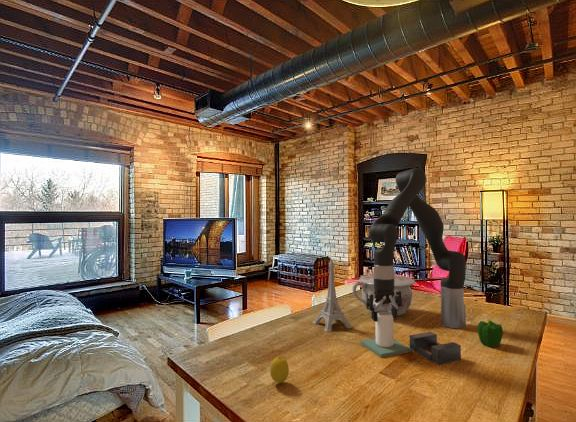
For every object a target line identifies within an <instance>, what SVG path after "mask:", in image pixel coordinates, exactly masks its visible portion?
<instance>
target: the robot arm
mask: <svg viewBox="0 0 576 422" xmlns="http://www.w3.org/2000/svg"><path fill="white" fill-rule="evenodd" d="M426 183H427V175H426V173H425V171H424V170H423V169H422V168H419V167H415V168H414V167H413V168H411V169H406V170H404V171H401V172H398V173H396V176H395V184H396V187H397V189H398V191H399V193H398V194H397V195H396V196H395V197H394V198H392V200H391V201H390V202H389V203H388V204H387V206H386V208H385V210H384V211H383V213H382V214H381V215H380V216H379V217H378V218H377V219H376V220H375V221H374V222H373V223H372V224H371V225H370V227H369V230H368V237H369V239H370V240H371V241H372V242H375V243H383V247H380V248H376V249H375V250H374V252H373V274H374V290H375V292H374V294H370V293H367V305H366V306H365V309H367V310H369V312H370V313H371V314H370V315H371V320H372V321H373V322H377V321H378V314H377V310H378V308H379V307H380V306H381V305H383V304H390V305H391V306H392V308H391V312H392V316H393V320H394V319H395V320H397V319H398V316H397V309H398V307H401V306H402V298H401V291H398V290H395V291H394V289H395V286H394V275H395V268H394V267H395V265H394V252H395V250H396V249H395V248H396V245H397V241H398V236H399V231H398V229H397V227H396V226H398V225H399V224H400V223H401V221H402V219H403V217H404V214H405V213H406V211H407V209H408V207H409V208H410V210H411V212H412V213H413V215H414V217H415V219H416V222H417V224H418V226H419V227H420V230H421V231H422V234H424V237H425V239H426V241H427V243H428V246H429V248H430V251H431V253H432V256H433V258H434V262H435V263H436V265H437V267H438V268H439V269H440V270H443V271H446V272H448V277H446V278H442V279H441V280H440V323H441V325H442V326H443V327H447V328H450V329H463V328H464V327H466V326H467V317H466V316H467V313H466V304H465V301H464V300H465V299H464V298H465V297H464V296H465V295H464V293H465V292H464V290H465V289H464V285H465V281H466V273H467V272H466V270H467V269H466V268H467V262H466V257H465V255H464V254H463V253H462V252H460V251H454V250H449V249H448V248H447V246H446V245H445V243H444V240H443V235H444V222H443V221H442V220H443V219H442V218H441V216H440V215H439V213H438V211H437V209H435V208H434V207H433V206H432V205H430V204H429V203H427V202H426V201H425V200H423V199H422V198H421V197H420V196H419V194H420V193H421V191H422V190H423V189H424V187H425V186H426ZM394 296H395V301H394V299H393V297H394ZM374 297H375V300H374V301H373V299H374ZM377 302H378V303H377Z"/></svg>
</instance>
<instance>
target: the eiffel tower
mask: <svg viewBox="0 0 576 422" xmlns="http://www.w3.org/2000/svg"><path fill="white" fill-rule="evenodd" d="M328 268H329V272H328V274H329V276H328V289H327V295H326V297H325V299H326V301H325V303H324V305H323V308H322V309H320V310H319V311H320V313H319V314H318V315H317V316H316V317H315V319H313V321H312V324H314V325H319V324H320V325H321V323H320V322H321V320H323V318H324V320H325V326H324V329H323V330H324V331H325V332H326V333H330V332H333V330H332V326H333V323H334V322H336V321H340V320H341V321H342V323H343V324H344V328H347V329H352V328H353V326H352V324H351V323H350V322H349V320H348V319H347V318H346V316H345V312H344V311H342V309H341V307H340V305H339V302H338V300H339V298H337V292H336V285H335V274H334V273H335V272H334V270H335V269H334V268H335V262H334V261H333V258H332V259H331V258H330V260H329V262H328Z"/></svg>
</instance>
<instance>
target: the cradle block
mask: <svg viewBox="0 0 576 422" xmlns="http://www.w3.org/2000/svg"><path fill="white" fill-rule="evenodd" d="M437 337H438V335H437V333H434V332H433V331H428V332H421V333H414V334H410V335H409V348H411V351H413V352H414V353H415V354H417V355H419V356H420V357H422V358H424V359H426V360H428V361H430V362H432V363H434V364H436V365H437V366H440V365H444V364H448V363H453V362H457V361H461V360H462V352H461V351H462V346H461V345H460V344H459V343H456V342H453V341H451V342H447V343H439V342H438V338H437ZM428 350H430V351H428Z"/></svg>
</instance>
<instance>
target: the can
mask: <svg viewBox="0 0 576 422" xmlns="http://www.w3.org/2000/svg"><path fill="white" fill-rule="evenodd" d="M377 314H378V321H377V322H375V321H374V322H375V324H374V325H375V338H376V344H377V345H378V346H380V347H386V348H388V347H392V346H393V345H394V337H395V336H394V318H393V316H392V312H390V311H386V310H379V311H377Z"/></svg>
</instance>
